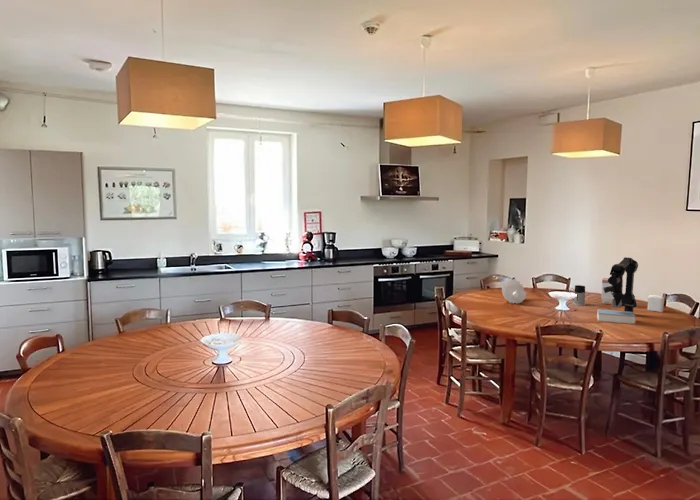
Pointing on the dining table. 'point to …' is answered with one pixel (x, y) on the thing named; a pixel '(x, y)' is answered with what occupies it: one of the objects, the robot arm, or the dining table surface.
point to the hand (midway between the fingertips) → (616, 304)
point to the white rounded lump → (513, 291)
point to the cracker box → (607, 297)
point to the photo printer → (655, 303)
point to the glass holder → (579, 295)
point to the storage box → (615, 319)
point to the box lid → (616, 313)
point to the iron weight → (615, 304)
